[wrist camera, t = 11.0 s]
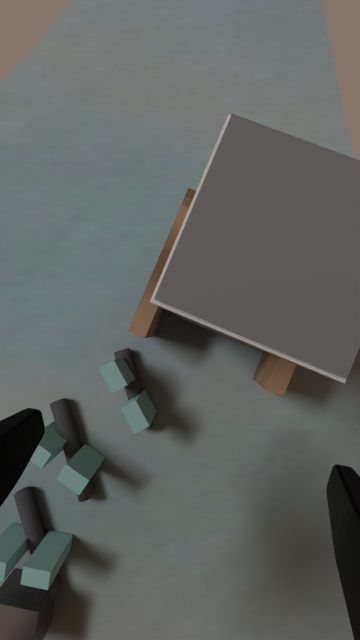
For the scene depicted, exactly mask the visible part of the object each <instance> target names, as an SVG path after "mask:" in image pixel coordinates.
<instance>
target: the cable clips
mask: <svg viewBox="0 0 360 640" xmlns="http://www.w3.org/2000/svg"><path fill="white" fill-rule="evenodd" d="M99 371H100V372H101V374H102V376H103V378H104V380H105V382H106V384H107V385H108V387H109V389H110V391H111V393H114V392H116V391H118V390H119V389H121V388H123V387H125V386H126V385H128V384H129V383H130V382H132V381H133V380H134V379H135V377H134V375H133V374H132V372H131V371H130V369H129V367H128V365H127V364H126V362H125V360H124V358H123V357H120V358H118V359H115V360H113V361H111V362H109V363H107V364H106V365H104V366H102V367H100V368H99ZM120 410H121V411H122V413H123V415H124V417H125V419H126V421H127V423H128V424H129V426H130V428H131V430H132V432H133V434H136V433H138V432H140V431H142V430H143V429H145V428H147V427H149V426H150V424H151V422H152V420H153V418H154V416H155V414H156V412H157V411H156V409H155V407H154V405H153V403H152V402H151V400H150V398H149V396H148V394H147V392H146V391H145V390H143V392H142V393H140V394H139V395H137V396H136V397H134V398H132V399H130V400H129V401H128V402H127V403H126V404H125V405H124V406H123V407H122V408H121V409H120ZM66 441H67V440H65V439H64V438H63V437H62V436H61V435H60V434H59V433H58V430H57V426H56V423H55V422H52V423H51V424H49V425H48V426H46V427H45V433H44V436H43V438H42V439H41V441H40V443H39V445H38V447H37V448H36V450H35V452H34V454H33V456H32V457H31V459H30V461H32V462H33V463H34V464H36V465H37V466H39V467H40V468H41V469H42V468H43V467H44V466H46V465H47V464H48V463H49V462H50V461H51V460H52V459H53V458H54V457H55V456H57V455H58V454H59V453H60V452H61V451H62V450H63V446H64V444H65V443H66ZM104 459H105V457H104V456H103V455H101V454H100V453H98V452H97V451H96V450H94V449H93V448H91V447H90V446H88V445H87V444H85V445H84V446H83V447H82V448H81V449H80V450H79V451H78V452H77V453H76V454H75V455H74V456H73V457H72V458H71V459H70V460H69V461H68V462H67V463H66V464H65V466H64V467H63V469H62V471H61V472H60V474H59V475H58V477H57V478H56V479H57V480H58V481H60V482H61V483H62V484H64V485H65V486H67V487H68V488H69V489H71V490H72V491H74V492H75V493H76V494H78V495H80V494H81V492H82V491H83V489H84V488H85V486H86V485H87V484H88V482H89V481H90V479H91V478H92V477H93V475H94V474H95V472H96V471H97V469H98V468H99V466H100V465H101V463H102V462H103V460H104ZM72 538H73V535H72V534H67V533H61V532H56V531H51V530H49V532H48V533H47V534H46V536H45V537H44V539H43V540H42V541H41V543H40V544H39V545H38V547H37V548H36V550H35V551H34V552H33V554H32V555H31V556H30V558H29V559H28V561H27V562H26V563H25V565H24V566H23V571H22V577H21V584H20V585H25V586H30V587H35V588H40V589H45V590H48V589H49V587H50V585H51V584H52V582H53V580H54V578H55V577H56V575H57V573H58V571H59V570H60V568H61V566H62V564H63V563H64V561H65V559H66V557H67V555H68V554H69V552H70V550H71V544H72ZM28 548H29V546H28V543H27V537H26V536H25V532H24V529H23V525H20V524H15V523H12V524H11V525H10V526H9V527H8V528H7V529H6V530H5V531H4V532H3V533H2V534H1V535H0V580H1V581H4V580H5V578H6V577H7V576H8V574H9V573H10V572H11V570H12V569H13V568H14V567H15V565H16V564H17V563H18V561H19V560H20V559H21V557H22V556H23V555H24V553H25V552H26V551H27V550H28Z"/></svg>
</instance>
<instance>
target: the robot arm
mask: <svg viewBox="0 0 360 640" xmlns="http://www.w3.org/2000/svg"><path fill="white" fill-rule="evenodd" d="M44 433H45V426H44V422H43V417H42V413H41V411H40V410H38V409H32V408H27V409H24V410H22V411H20V412H18V413H16V414H14V415H12V416H10V417H8V418H5V419H3V420H1V421H0V507H1V505H2V504H3V502H4V501H5V499H6V498H7V497H8V495H9V494H10V492H11V491H12V489H13V488H14V486H15V485H16V483H17V482H18V480H19V478H20V477H21V475H22V473H23V472H24V470H25V468H26V466H27V464H28V463H29V461H30V459H31V457H32V456H33V454H34V452H35V450H36V448H37V447H38V445H39V443H40V441H41V439H42V438H43V436H44ZM327 499H328V507H329V514H330V522H331V530H332V537H333V545H334V552H335V558H336V563H337V568H338V572H339V576H340V580H341V585H342V589H343V593H344V597H345V602H346V606H347V610H348V615H349V619H350V623H351V627H352V632H353V636H354V640H360V476H359V475H358V474H357V473H356V472H355V471H354V470H353V469H352V468H351V467H348V466H342V465H334V466H333V468H332V471H331V474H330V477H329V481H328V484H327Z"/></svg>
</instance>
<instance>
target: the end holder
mask: <svg viewBox="0 0 360 640" xmlns="http://www.w3.org/2000/svg"><path fill="white" fill-rule="evenodd" d="M195 193H196V191H195V190H192V189H190V188H188V190H187V193H186V195H185V197H184V200H183V202H182V204H181V207H180V209H179V212H178V214H177V216H176V219H175V221H174V223H173V226H172V228H171V230H170V233H169V235H168V238H167V240H166V242H165V245H164V247H163V249H162V252H161V254H160V257H159V259H158V261H157V264H156V266H155V268H154V271H153V273H152V275H151V278H150V280H149V283H148V285H147V287H146V290H145V292H144V294H143V297H142V299H141V301H140V304H139V306H138V309H137V311H136V313H135V316H134V318H133V320H132V323H131V325H130V327H129V330H128V331H130V332H132V333H135V334H137V335H139V336H142V337H144V338H147V337H153V336H154V335H155V333H156V330H157V328H158V325H159V323H160V321H161V318H162V316H163V314H164V311H165V309H163V308H161V307H158V306H156V305H154V304H152V303H151V302H150V300H151V297H152V295H153V293H154V290H155V288H156V286H157V283H158V281H159V278H160V276H161V274H162V271H163V269H164V267H165V264H166V262H167V259H168V257H169V255H170V252H171V250H172V248H173V245H174V243H175V240H176V238H177V236H178V233H179V231H180V229H181V226H182V224H183V221H184V219H185V217H186V214H187V212H188V210H189V207H190V205H191V202H192V200H193V198H194V195H195ZM296 365H297V364H295V363H292V362H290V361H287V360H285V359H283V358H280V357H278V356H275V355H273V354H270V353H267V352H263V355H262V357H261V360H260V362H259V364H258V367H257V369H256V372H255V374H254V376H253V379H254V380H255V381H256V382H257V383H258V384H260V385H261V386H262V387H263V388H264V389H265V390H268V391H270V392H272V393H275V394H277V395H279V396H282V397H283V396H284V393H285V391H286V389H287V386H288V384H289V381H290V379H291V377H292V374H293V372H294V370H295V367H296Z"/></svg>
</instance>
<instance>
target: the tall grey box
mask: <svg viewBox="0 0 360 640" xmlns="http://www.w3.org/2000/svg"><path fill="white" fill-rule="evenodd" d="M150 302H151V303H152V304H154V305H156V306H158V307H161V308H163V309H166V310H168V311H170V312H173V313H175V314H176V315H177V316H179V317H180V318H181V319H183V320H186V321H188V322H191V323H193V324H195V325H198V326H200V327H203V328H205V329H207V330H210V331H212V332H214V333H217V334H219V335H222V336H224V337H226V338H229V339H231V340H234V341H236V342H238V343H241V344H243V345H246V346H249V347H252V348H255V349H258V350H261V351H264V352H267V353H270V354H273V355H275V356H278V357H280V358H283V359H285V360H287V361H290V362H292V363H295V364H297V365H299V366H302V367H304V368H307V369H309V370H311V371H314V372H316V373H318V374H321V375H323V376H326V377H328V378H331V379H334V380H337V381H339V382H342V383H345V382H346V379H347V377H348V375H349V372H350V370H351V368H352V365H353V363H354V360H355V358H356V356H357V353H358V351H359V348H360V161H359V160H356V159H354V158H351V157H348V156H346V155H343V154H340V153H337V152H335V151H332V150H329V149H327V148H324V147H321V146H318V145H316V144H313V143H310V142H308V141H305V140H302V139H299V138H297V137H294V136H291V135H289V134H286V133H283V132H281V131H278V130H275V129H272V128H270V127H267V126H264V125H262V124H259V123H256V122H253V121H251V120H248V119H245V118H243V117H240V116H237V115H234V114H232V115H228V117H227V119H226V122H225V124H224V126H223V129H222V131H221V134H220V136H219V138H218V141H217V143H216V145H215V148H214V150H213V153H212V155H211V157H210V160H209V162H208V164H207V167H206V169H205V172H204V174H203V176H202V179H201V181H200V183H199V186H198V188H197V191H196V193H195V195H194V198H193V200H192V202H191V205H190V207H189V210H188V212H187V214H186V217H185V219H184V221H183V224H182V226H181V229H180V231H179V233H178V236H177V238H176V240H175V243H174V245H173V248H172V250H171V252H170V255H169V257H168V259H167V262H166V264H165V267H164V269H163V271H162V274H161V276H160V278H159V281H158V283H157V286H156V288H155V290H154V293H153V295H152V297H151V300H150Z"/></svg>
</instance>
